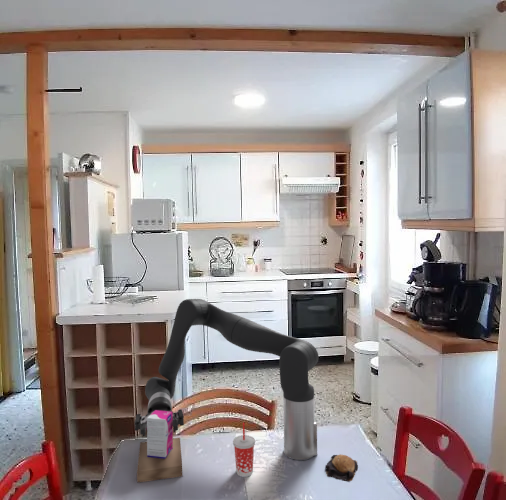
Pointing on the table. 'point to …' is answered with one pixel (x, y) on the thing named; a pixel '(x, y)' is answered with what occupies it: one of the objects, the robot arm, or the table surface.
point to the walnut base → (159, 464)
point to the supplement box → (159, 434)
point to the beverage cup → (244, 453)
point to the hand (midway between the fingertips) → (159, 431)
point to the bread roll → (341, 467)
